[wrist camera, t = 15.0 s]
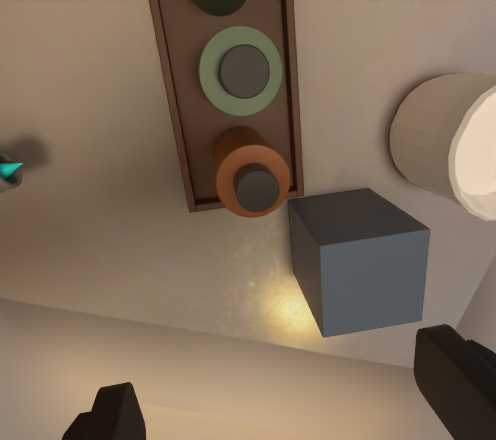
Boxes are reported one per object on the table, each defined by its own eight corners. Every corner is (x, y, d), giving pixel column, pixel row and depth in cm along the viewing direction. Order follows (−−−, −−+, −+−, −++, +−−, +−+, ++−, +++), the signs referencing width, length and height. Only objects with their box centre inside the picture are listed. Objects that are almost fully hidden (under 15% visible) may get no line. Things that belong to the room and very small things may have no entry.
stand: (293, 272, 36) (323, 338, 27) (287, 199, 33) (319, 246, 24) (367, 260, 37) (422, 321, 28) (369, 188, 34) (430, 228, 25)
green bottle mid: (205, 109, 29) (205, 126, 19) (195, 44, 27) (190, 24, 17) (262, 102, 29) (293, 114, 19) (256, 37, 27) (287, 13, 17)
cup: (470, 52, 30) (582, 40, 21) (492, 154, 34) (595, 181, 25) (369, 106, 31) (437, 117, 22) (401, 200, 35) (470, 242, 26)
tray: (190, 204, 32) (189, 212, 30) (136, -82, 24) (131, -95, 22) (298, 189, 33) (304, 196, 31) (281, -95, 25) (287, -110, 23)
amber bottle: (217, 184, 31) (223, 235, 21) (208, 130, 30) (210, 156, 19) (269, 177, 32) (300, 223, 22) (264, 122, 30) (295, 145, 20)
